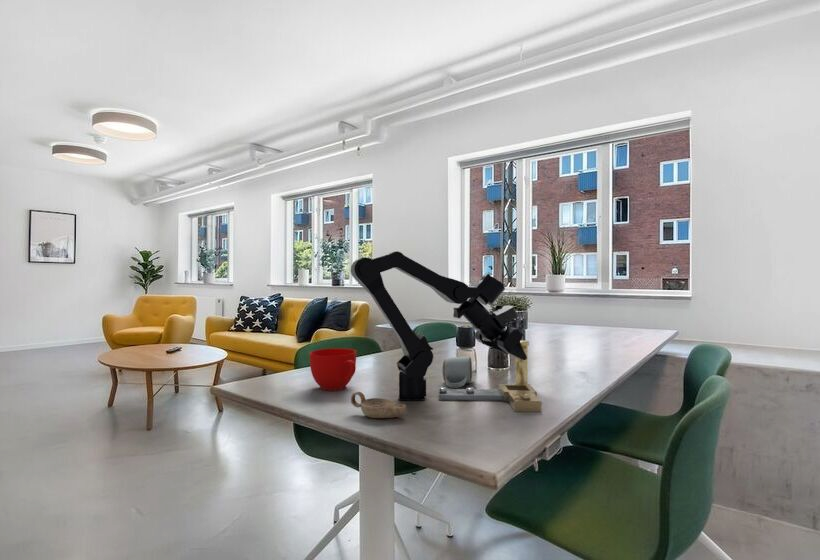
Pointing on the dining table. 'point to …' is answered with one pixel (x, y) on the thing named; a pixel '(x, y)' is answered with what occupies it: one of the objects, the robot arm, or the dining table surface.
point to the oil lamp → (378, 407)
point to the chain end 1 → (471, 394)
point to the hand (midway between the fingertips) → (517, 356)
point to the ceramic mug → (457, 371)
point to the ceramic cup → (333, 367)
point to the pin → (522, 366)
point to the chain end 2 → (521, 397)
